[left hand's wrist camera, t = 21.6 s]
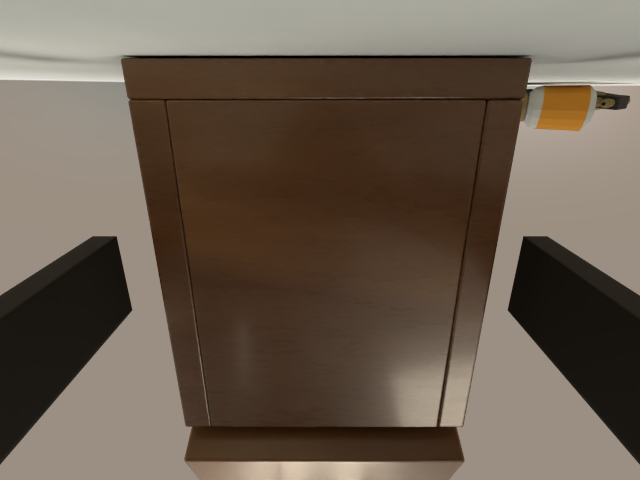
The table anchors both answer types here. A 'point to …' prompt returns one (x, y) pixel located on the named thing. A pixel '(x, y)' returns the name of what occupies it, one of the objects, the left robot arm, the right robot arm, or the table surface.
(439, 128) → the chest
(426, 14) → the table surface
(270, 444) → the lid
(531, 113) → the spray gun
